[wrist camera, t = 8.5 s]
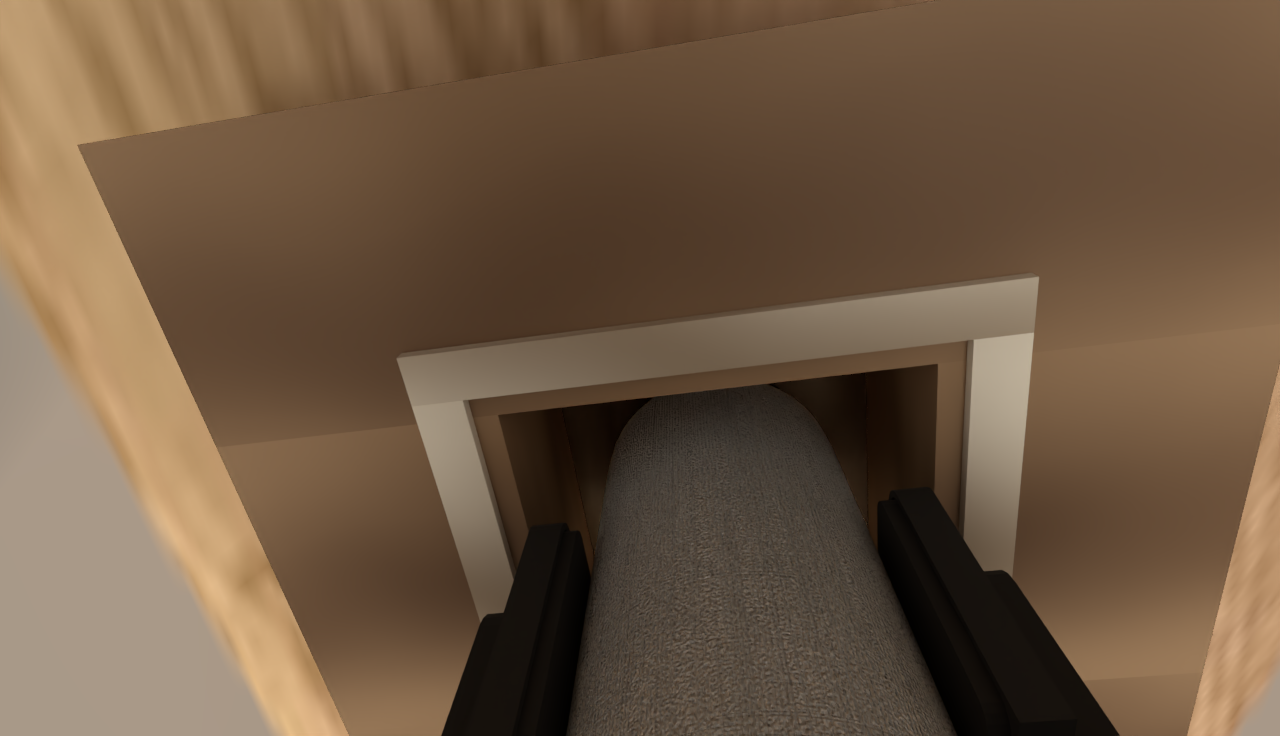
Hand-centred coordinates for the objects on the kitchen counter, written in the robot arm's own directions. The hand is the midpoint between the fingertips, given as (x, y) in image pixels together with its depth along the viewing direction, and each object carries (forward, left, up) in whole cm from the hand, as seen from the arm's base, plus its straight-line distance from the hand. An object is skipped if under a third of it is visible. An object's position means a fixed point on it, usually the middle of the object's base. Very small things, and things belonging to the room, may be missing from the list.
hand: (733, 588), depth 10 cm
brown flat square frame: (0, 0, -5) cm, 5 cm away
